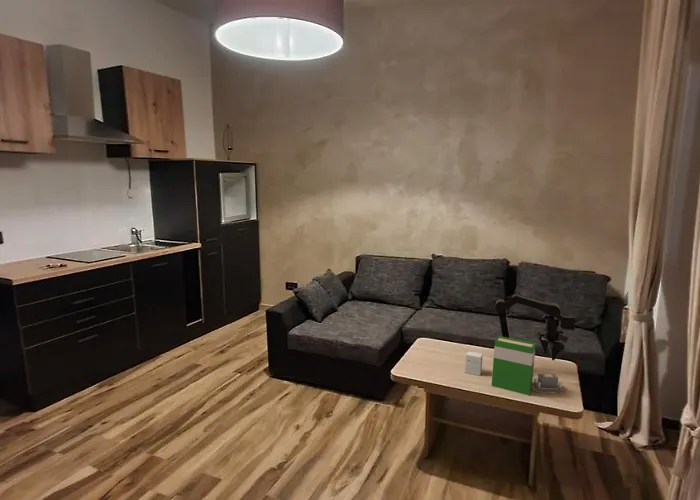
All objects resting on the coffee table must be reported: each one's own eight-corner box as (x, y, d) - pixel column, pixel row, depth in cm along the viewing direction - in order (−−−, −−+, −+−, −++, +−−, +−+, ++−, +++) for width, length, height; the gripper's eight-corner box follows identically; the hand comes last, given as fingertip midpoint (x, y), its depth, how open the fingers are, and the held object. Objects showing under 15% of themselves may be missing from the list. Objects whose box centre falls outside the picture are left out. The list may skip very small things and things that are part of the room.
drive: (541, 388, 214) (542, 377, 213) (537, 383, 219) (538, 373, 218) (557, 388, 214) (559, 377, 213) (553, 384, 219) (554, 373, 218)
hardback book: (491, 385, 218) (494, 340, 214) (495, 380, 224) (498, 335, 220) (528, 395, 209) (533, 347, 205) (531, 389, 215) (535, 343, 211)
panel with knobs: (538, 392, 212) (538, 384, 211) (530, 383, 221) (530, 376, 220) (564, 392, 212) (565, 385, 212) (555, 384, 221) (556, 376, 220)
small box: (481, 372, 234) (483, 353, 232) (480, 376, 229) (481, 357, 227) (466, 369, 237) (467, 350, 235) (464, 373, 232) (465, 354, 230)
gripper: (576, 334, 214) (573, 364, 216) (558, 322, 232) (556, 349, 235) (554, 334, 214) (551, 364, 216) (537, 321, 232) (535, 349, 235)
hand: (549, 356), depth 226 cm, fingers open, 9 cm apart
